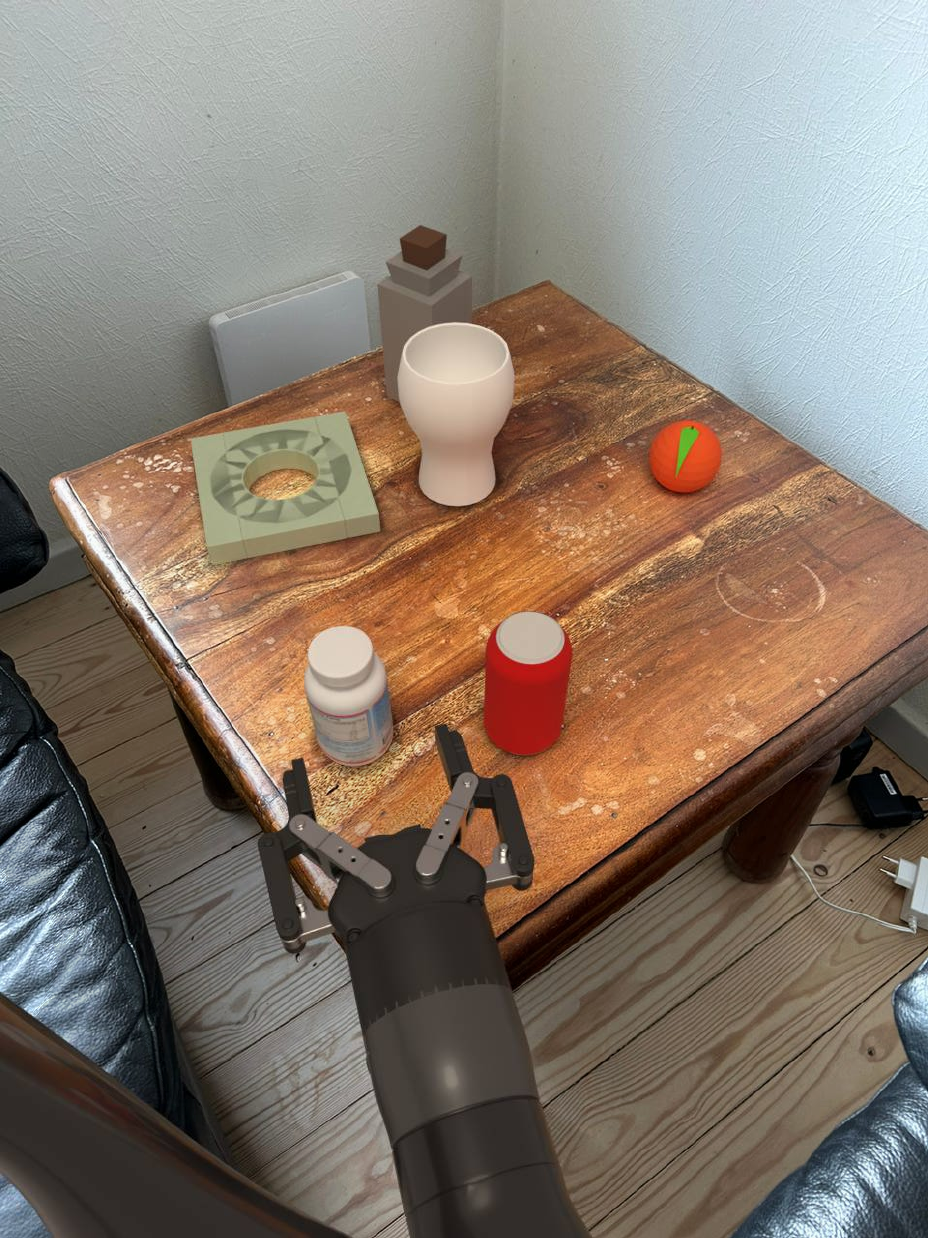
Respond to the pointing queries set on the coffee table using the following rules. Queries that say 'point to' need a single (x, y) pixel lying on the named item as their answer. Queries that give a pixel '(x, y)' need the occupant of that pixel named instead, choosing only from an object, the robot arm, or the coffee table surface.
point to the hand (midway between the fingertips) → (370, 748)
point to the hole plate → (281, 525)
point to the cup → (456, 407)
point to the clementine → (685, 456)
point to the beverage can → (526, 682)
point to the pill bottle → (348, 696)
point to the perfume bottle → (420, 295)
